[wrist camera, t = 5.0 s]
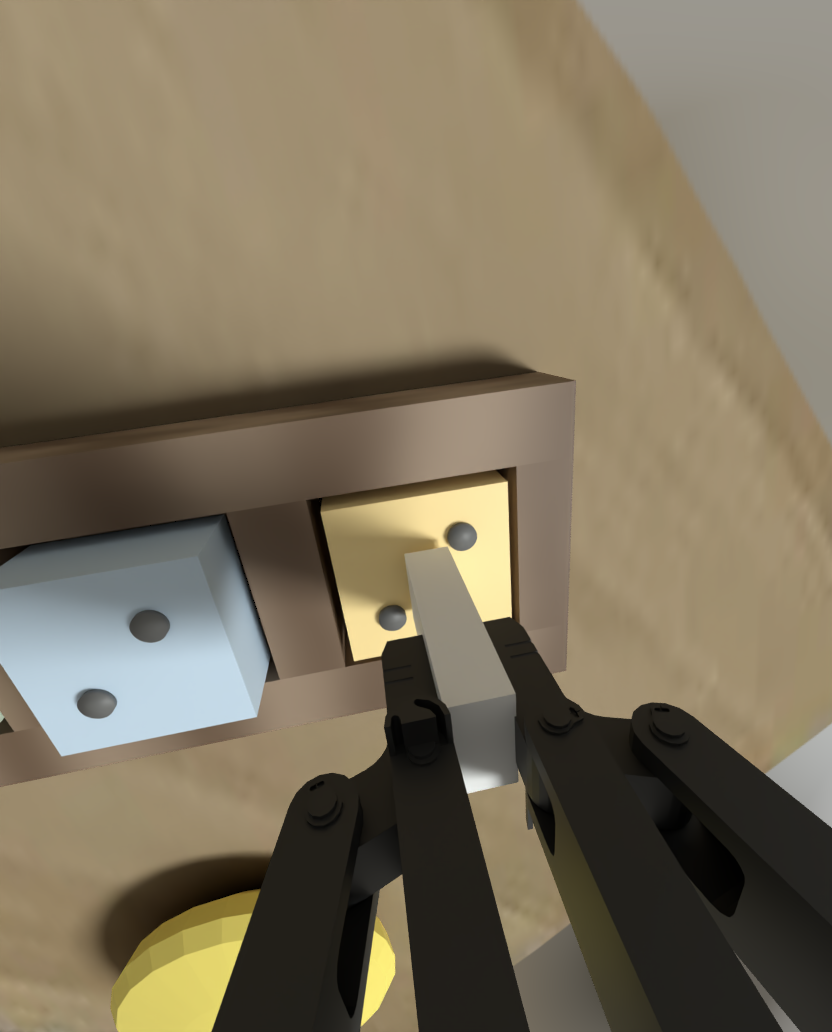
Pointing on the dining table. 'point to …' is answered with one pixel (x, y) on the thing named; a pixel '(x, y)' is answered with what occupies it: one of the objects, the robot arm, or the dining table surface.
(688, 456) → the dining table surface
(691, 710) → the dining table surface
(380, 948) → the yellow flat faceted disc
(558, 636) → the board
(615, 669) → the dining table surface
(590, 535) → the dining table surface
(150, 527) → the tile
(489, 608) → the tile
